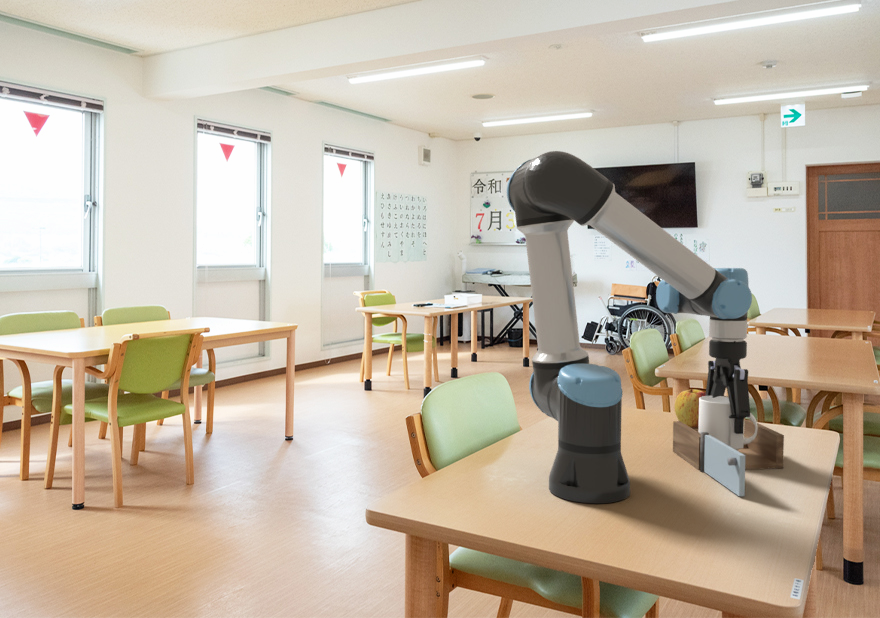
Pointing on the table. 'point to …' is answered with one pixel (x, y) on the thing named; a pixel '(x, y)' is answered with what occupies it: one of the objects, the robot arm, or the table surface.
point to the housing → (757, 453)
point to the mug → (719, 418)
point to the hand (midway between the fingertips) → (725, 441)
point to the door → (725, 465)
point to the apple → (688, 407)
